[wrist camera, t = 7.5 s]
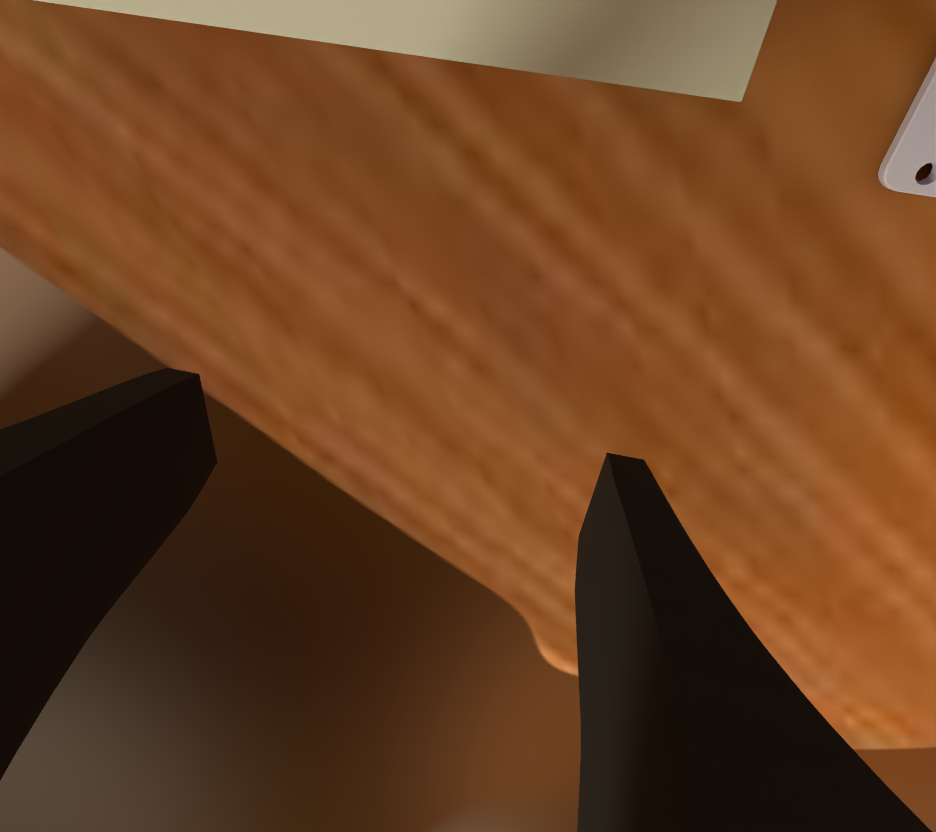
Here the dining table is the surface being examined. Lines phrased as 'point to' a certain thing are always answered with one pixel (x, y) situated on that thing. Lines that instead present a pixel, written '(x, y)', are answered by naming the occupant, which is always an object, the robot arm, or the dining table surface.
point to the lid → (516, 34)
